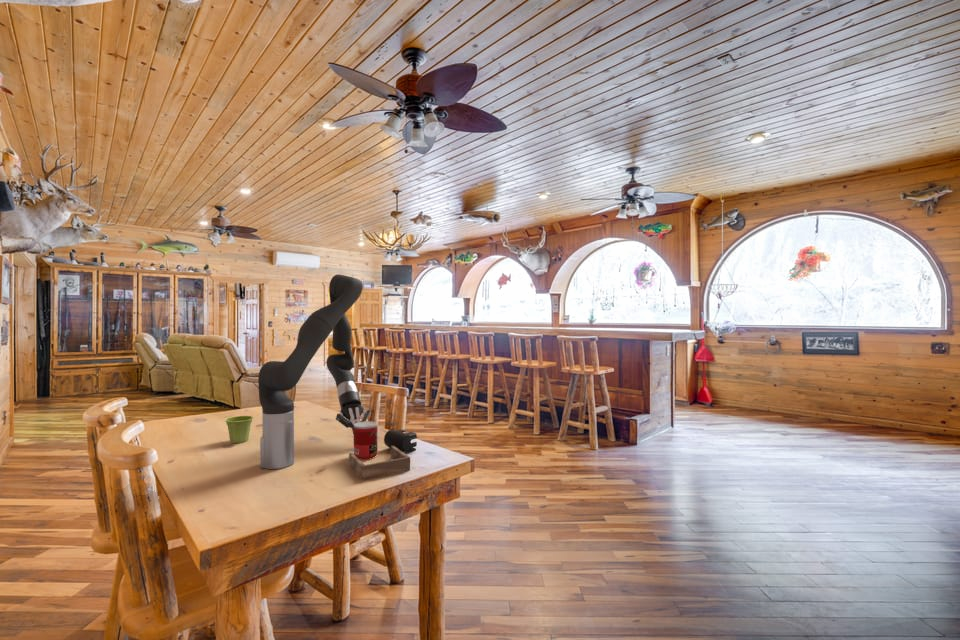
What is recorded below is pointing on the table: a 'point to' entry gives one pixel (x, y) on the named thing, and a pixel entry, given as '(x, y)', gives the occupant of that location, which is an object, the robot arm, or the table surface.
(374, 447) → the canned food
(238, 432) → the plant pot
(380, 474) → the tray
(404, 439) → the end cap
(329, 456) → the table surface
